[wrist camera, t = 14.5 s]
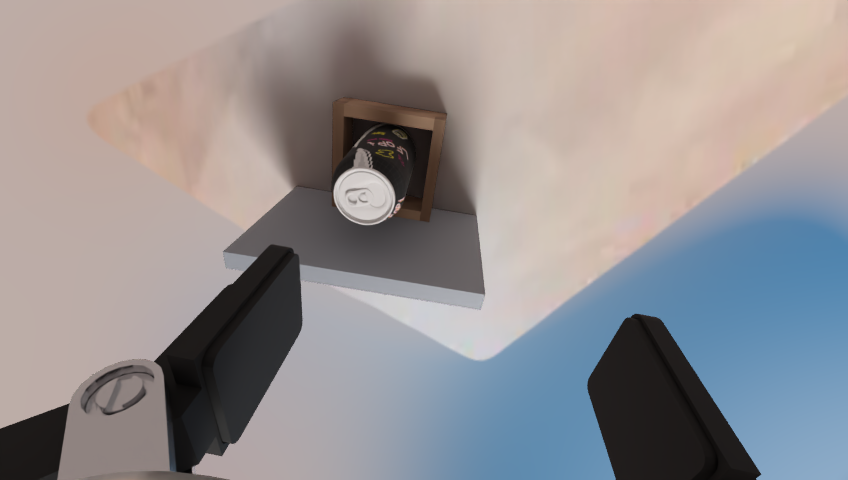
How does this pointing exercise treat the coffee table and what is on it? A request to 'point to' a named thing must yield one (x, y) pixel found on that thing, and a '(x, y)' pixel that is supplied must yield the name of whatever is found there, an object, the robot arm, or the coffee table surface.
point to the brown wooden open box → (397, 115)
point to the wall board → (371, 250)
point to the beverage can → (374, 175)
